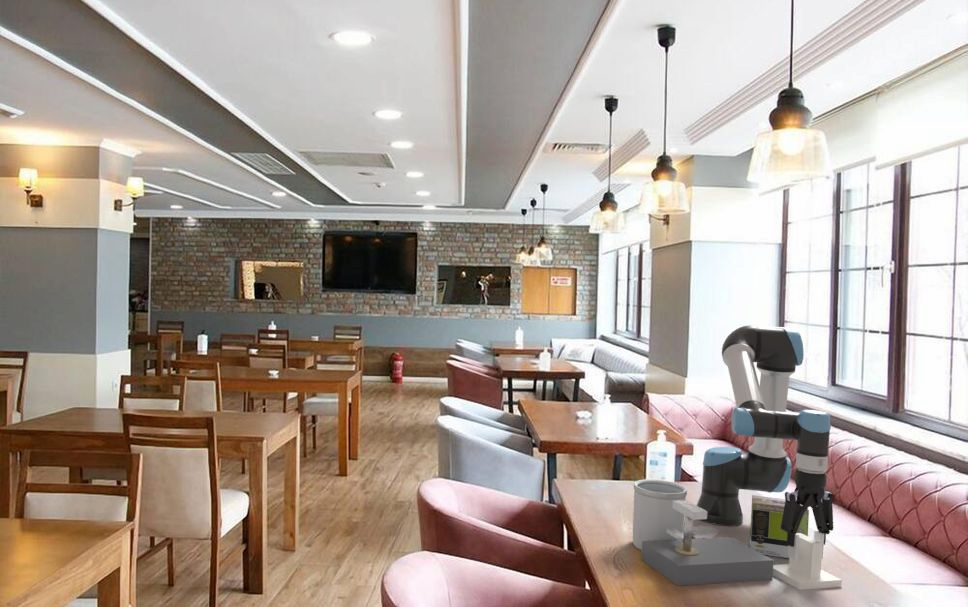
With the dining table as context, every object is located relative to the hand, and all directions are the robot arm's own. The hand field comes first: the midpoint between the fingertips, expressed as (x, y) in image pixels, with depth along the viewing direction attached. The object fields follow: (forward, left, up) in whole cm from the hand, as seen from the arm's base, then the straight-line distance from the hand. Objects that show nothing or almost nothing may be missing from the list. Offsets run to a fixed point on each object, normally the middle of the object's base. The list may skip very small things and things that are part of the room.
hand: (805, 557), depth 192 cm
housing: (+23, -10, -6) cm, 26 cm away
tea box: (-7, -19, -6) cm, 21 cm away
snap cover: (0, 0, -6) cm, 6 cm away
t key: (+29, -12, 0) cm, 31 cm away
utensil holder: (+27, -28, -6) cm, 39 cm away
